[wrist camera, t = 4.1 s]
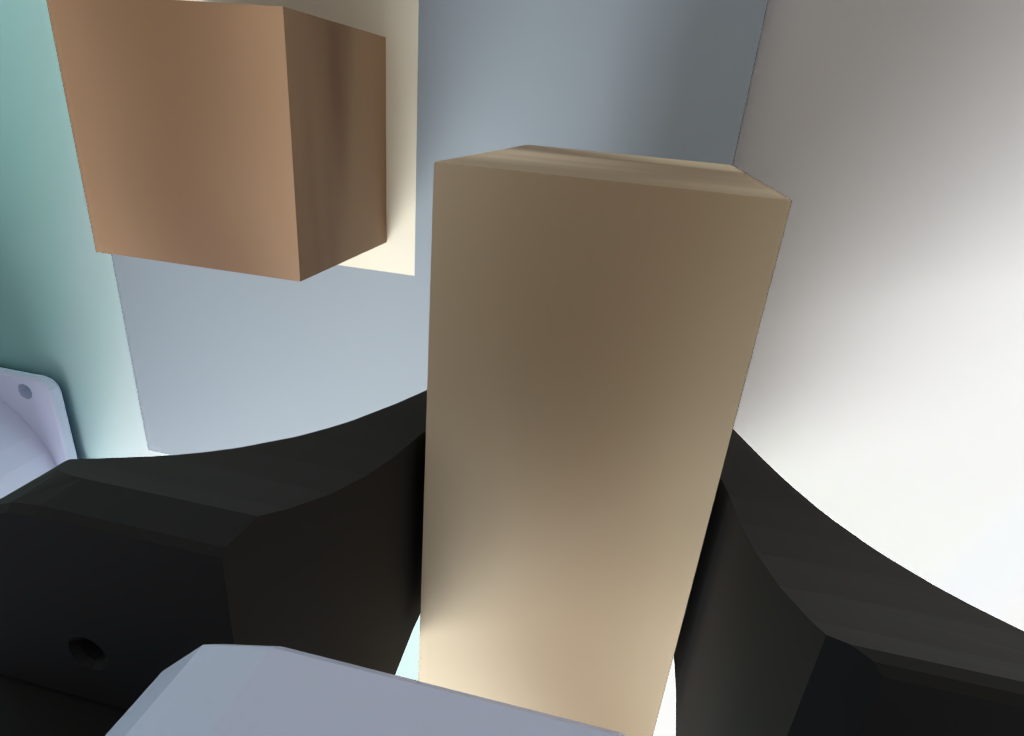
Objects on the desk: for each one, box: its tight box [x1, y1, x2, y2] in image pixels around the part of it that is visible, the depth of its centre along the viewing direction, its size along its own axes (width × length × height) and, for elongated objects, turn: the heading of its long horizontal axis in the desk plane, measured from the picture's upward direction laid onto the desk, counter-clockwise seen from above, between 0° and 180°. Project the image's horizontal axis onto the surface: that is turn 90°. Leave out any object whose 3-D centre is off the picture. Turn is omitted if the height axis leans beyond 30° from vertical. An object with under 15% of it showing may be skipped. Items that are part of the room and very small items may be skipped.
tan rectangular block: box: [419, 144, 792, 736], centre depth 10 cm, size 4×10×5 cm, turn 175°
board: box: [112, 0, 768, 455], centre depth 14 cm, size 16×20×1 cm
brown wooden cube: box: [47, 0, 386, 282], centre depth 13 cm, size 4×4×4 cm
